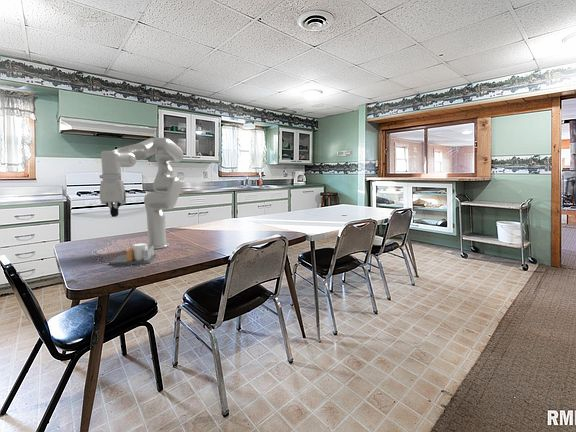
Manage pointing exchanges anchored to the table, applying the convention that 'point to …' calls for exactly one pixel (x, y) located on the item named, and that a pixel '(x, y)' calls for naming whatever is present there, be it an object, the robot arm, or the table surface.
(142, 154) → the robot arm
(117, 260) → the vise base
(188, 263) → the table surface
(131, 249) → the slide jaw
